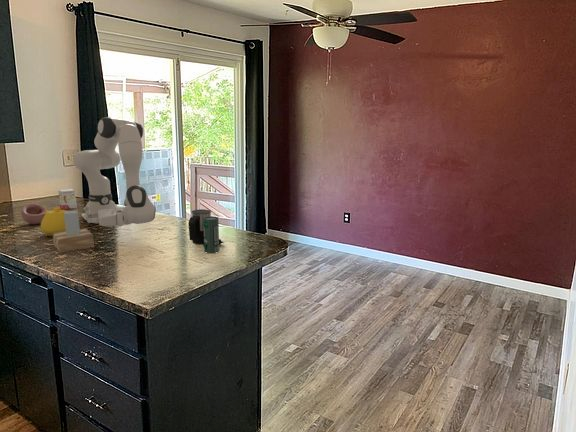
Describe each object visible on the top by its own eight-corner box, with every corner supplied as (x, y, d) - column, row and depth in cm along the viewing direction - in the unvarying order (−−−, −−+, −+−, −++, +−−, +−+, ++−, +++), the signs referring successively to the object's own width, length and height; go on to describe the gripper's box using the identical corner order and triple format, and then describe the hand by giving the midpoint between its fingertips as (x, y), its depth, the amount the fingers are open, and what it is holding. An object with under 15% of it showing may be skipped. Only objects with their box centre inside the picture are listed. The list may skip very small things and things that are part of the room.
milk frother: (195, 238, 210) (194, 208, 207) (227, 239, 209) (226, 209, 206) (187, 247, 196) (185, 215, 193) (221, 248, 196) (220, 216, 192)
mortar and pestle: (28, 227, 227) (25, 206, 224) (18, 224, 234) (16, 203, 231) (52, 223, 236) (49, 202, 234) (42, 220, 243) (39, 200, 241)
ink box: (63, 209, 270) (61, 191, 268) (59, 208, 274) (57, 190, 271) (77, 208, 277) (75, 189, 274) (73, 206, 280) (72, 188, 277)
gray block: (67, 232, 197) (65, 211, 195) (80, 231, 198) (77, 210, 196) (66, 235, 192) (63, 213, 190) (78, 234, 194) (76, 212, 192)
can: (208, 248, 194) (207, 216, 191) (221, 250, 193) (220, 217, 189) (202, 252, 189) (201, 219, 185) (215, 253, 187) (214, 220, 184)
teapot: (32, 233, 216) (28, 206, 213) (64, 227, 228) (61, 202, 225) (50, 241, 204) (47, 212, 201) (83, 234, 216) (80, 207, 212)
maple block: (53, 245, 198) (52, 232, 197) (86, 240, 206) (85, 228, 205) (60, 253, 187) (58, 239, 186) (94, 247, 195) (93, 234, 194)
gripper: (117, 205, 211) (86, 207, 206) (120, 213, 193) (86, 216, 187) (118, 217, 212) (87, 220, 207) (121, 227, 194) (87, 230, 189)
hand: (87, 218), depth 197 cm, fingers open, 8 cm apart
